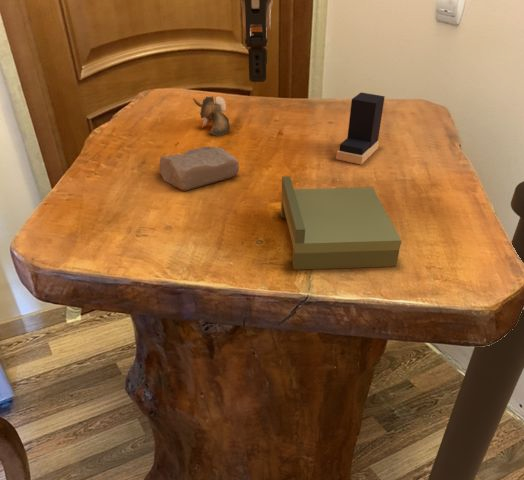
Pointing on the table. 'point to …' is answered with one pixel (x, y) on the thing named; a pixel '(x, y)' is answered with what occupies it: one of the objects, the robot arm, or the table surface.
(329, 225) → the green flanged plate
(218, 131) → the brown animal figurine
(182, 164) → the stone block
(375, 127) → the high-top shoe
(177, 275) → the table surface
